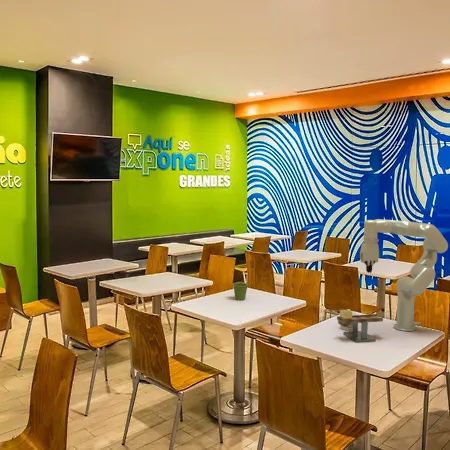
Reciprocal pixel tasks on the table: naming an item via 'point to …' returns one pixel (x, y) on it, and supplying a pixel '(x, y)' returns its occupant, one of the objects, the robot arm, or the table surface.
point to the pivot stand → (359, 333)
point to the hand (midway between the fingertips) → (369, 272)
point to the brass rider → (345, 314)
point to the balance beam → (359, 319)
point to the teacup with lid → (349, 324)
